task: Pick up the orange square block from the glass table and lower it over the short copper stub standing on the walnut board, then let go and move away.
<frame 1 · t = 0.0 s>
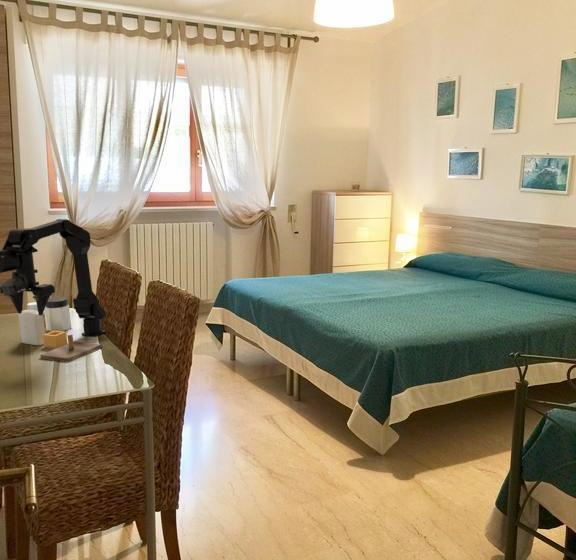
hand: (30, 314, 200), 15 cm above the table, tool pointing down, fingers open, 9 cm apart
supplement bottle: (37, 337, 227), on the table
orange square block: (56, 345, 215), on the table
peg board: (71, 352, 206), on the table
white flat bottle: (33, 343, 219), on the table
jar: (59, 329, 237), on the table
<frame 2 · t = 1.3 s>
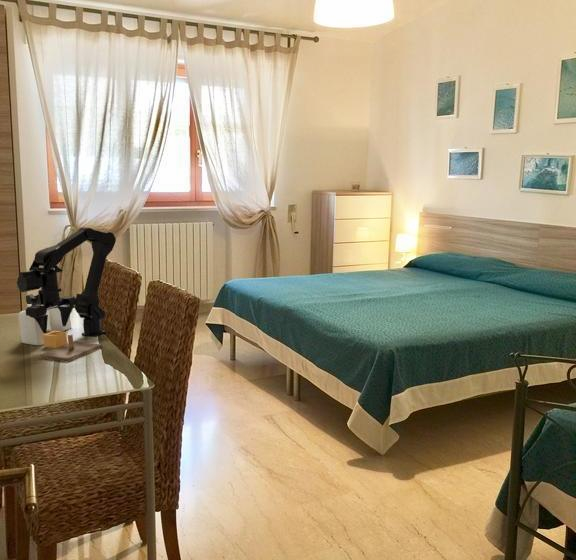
hand: (54, 329, 214), 6 cm above the table, tool pointing down, fingers open, 9 cm apart
nothing on the table moved.
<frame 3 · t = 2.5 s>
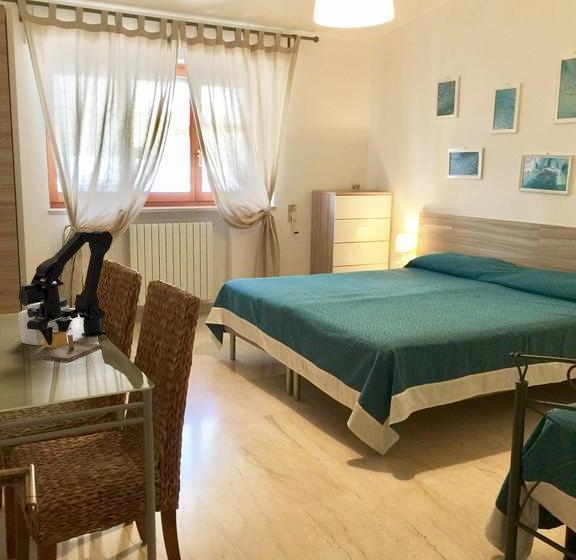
hand: (55, 342, 215), 1 cm above the table, tool pointing down, fingers closed on orange square block, 5 cm apart
orange square block: (56, 345, 215), on the table, touching gripper
everything else where it was.
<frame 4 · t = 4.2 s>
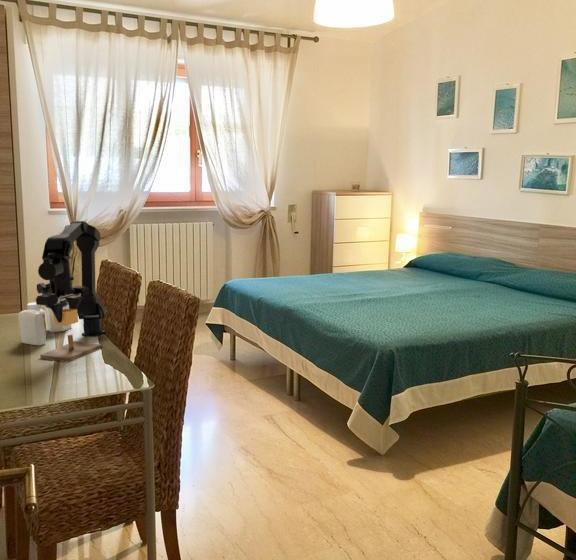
hand: (66, 320, 204), 11 cm above the table, tool pointing down, fingers closed on orange square block, 5 cm apart
orange square block: (66, 323, 205), point 10 cm above the table, touching gripper
everything else where it was.
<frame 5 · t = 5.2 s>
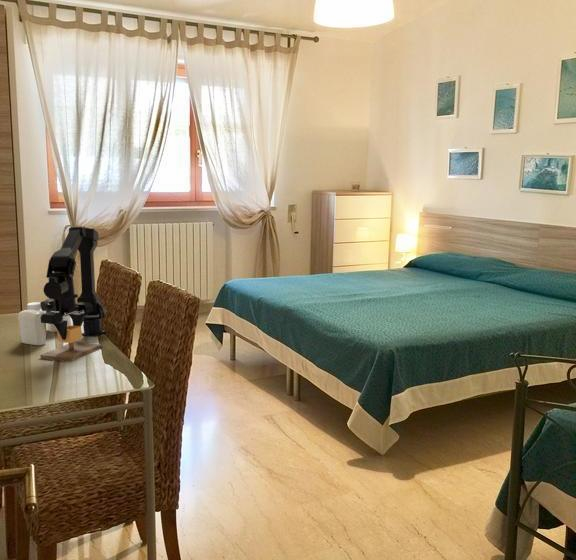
hand: (70, 337, 205), 5 cm above the table, tool pointing down, fingers closed on orange square block, 5 cm apart
orange square block: (70, 340, 205), point 4 cm above the table, touching gripper
everything else where it was.
when the fingers open (3 cm above the table, at t = 6.1 s): orange square block stays where it is, resting on peg board.
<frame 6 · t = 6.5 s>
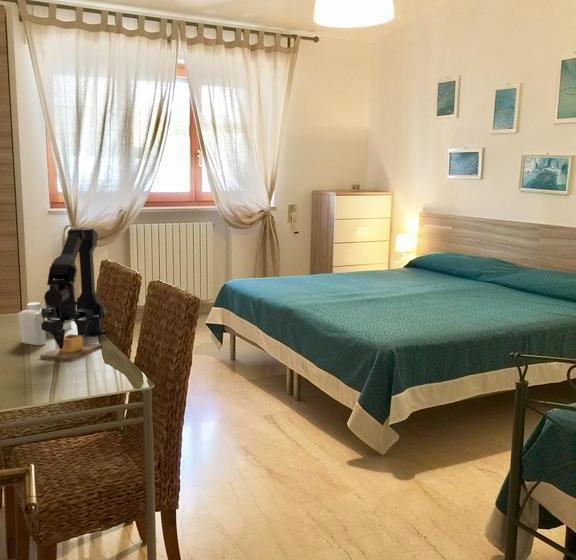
hand: (71, 344, 205), 3 cm above the table, tool pointing down, fingers open, 9 cm apart
orange square block: (71, 349, 206), point 1 cm above the table, touching peg board
everything else where it was.
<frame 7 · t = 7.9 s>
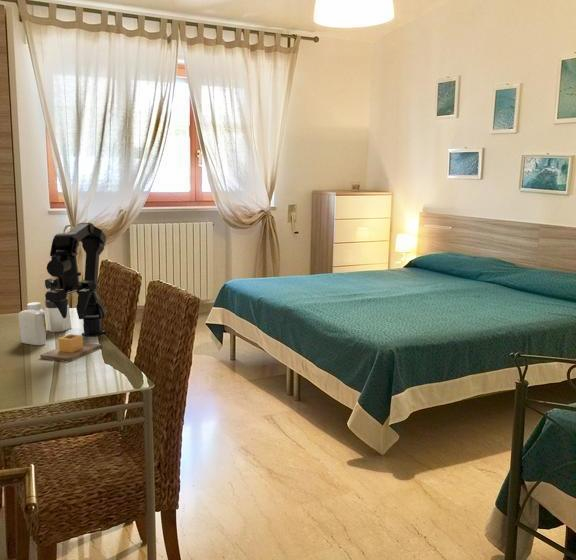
hand: (74, 314, 211), 12 cm above the table, tool pointing down, fingers open, 9 cm apart
nothing on the table moved.
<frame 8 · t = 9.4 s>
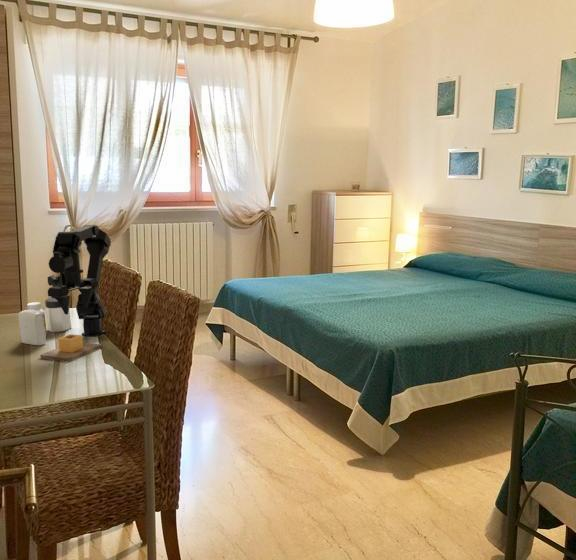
hand: (75, 311, 214), 12 cm above the table, tool pointing down, fingers open, 9 cm apart
nothing on the table moved.
at the end: orange square block 0.1 cm off-centre on the peg board, point 1.2 cm above the peg board's base; the gripper is holding nothing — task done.
